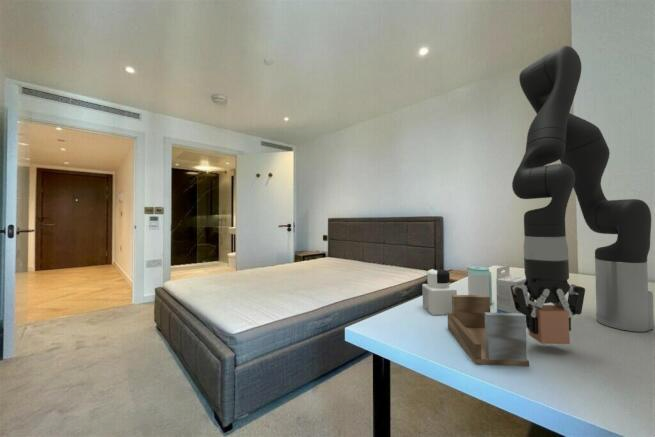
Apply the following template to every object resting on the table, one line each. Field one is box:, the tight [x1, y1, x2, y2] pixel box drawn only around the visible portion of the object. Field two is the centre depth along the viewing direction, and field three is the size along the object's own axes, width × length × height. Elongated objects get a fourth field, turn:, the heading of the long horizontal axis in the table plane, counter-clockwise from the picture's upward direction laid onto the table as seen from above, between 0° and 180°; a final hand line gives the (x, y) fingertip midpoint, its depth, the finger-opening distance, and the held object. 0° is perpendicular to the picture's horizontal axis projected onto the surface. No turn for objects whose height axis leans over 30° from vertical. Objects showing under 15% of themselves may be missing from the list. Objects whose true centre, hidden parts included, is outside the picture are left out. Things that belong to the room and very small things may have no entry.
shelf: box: [447, 294, 530, 367], centre depth 60 cm, size 10×17×10 cm, turn 172°
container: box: [421, 268, 458, 316], centre depth 83 cm, size 8×8×13 cm
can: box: [467, 265, 493, 304], centre depth 89 cm, size 7×7×12 cm
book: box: [527, 304, 571, 345], centre depth 57 cm, size 6×4×7 cm
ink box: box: [495, 264, 529, 316], centre depth 75 cm, size 8×5×15 cm, turn 123°
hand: (548, 332), depth 57 cm, fingers closed on book, 5 cm apart
